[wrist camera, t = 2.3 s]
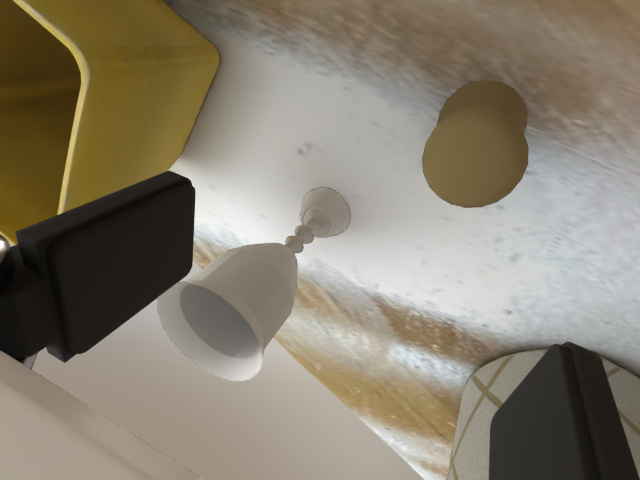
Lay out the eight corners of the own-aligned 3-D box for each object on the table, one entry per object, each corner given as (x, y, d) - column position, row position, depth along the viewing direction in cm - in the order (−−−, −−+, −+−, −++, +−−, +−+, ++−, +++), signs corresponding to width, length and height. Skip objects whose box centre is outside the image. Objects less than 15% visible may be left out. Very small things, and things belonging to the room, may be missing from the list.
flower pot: (192, 200, 42) (47, 280, 29) (64, 88, 42) (-142, 115, 28) (269, 47, 31) (90, 60, 17) (95, -107, 31) (-222, -215, 17)
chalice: (374, 205, 34) (279, 336, 19) (342, 257, 38) (243, 398, 23) (306, 163, 34) (165, 258, 20) (282, 218, 38) (149, 331, 24)
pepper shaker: (478, 61, 26) (467, 76, 17) (548, 116, 26) (574, 160, 17) (420, 132, 29) (386, 175, 20) (481, 180, 29) (473, 245, 20)
